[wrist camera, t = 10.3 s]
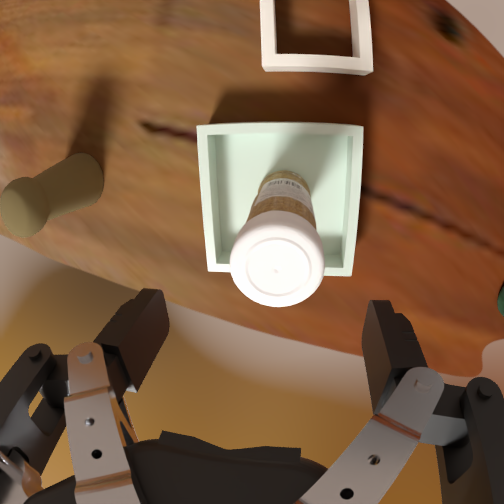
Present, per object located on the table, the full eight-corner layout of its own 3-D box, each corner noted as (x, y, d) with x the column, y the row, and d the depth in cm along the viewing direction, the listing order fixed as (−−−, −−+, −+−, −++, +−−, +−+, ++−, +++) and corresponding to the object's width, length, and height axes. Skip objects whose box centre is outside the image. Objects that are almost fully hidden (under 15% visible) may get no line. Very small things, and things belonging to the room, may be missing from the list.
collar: (359, -8, 18) (365, -20, 16) (364, 75, 22) (373, 71, 19) (262, -12, 19) (258, -25, 17) (265, 71, 23) (262, 66, 20)
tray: (354, 124, 24) (363, 126, 21) (345, 258, 29) (351, 276, 26) (208, 123, 25) (196, 125, 22) (217, 254, 31) (208, 271, 28)
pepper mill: (56, 162, 29) (-16, 191, 19) (94, 144, 27) (17, 168, 18) (72, 211, 31) (6, 253, 21) (111, 198, 30) (42, 241, 20)
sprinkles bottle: (250, 207, 27) (215, 290, 15) (270, 160, 25) (247, 206, 13) (298, 227, 27) (300, 322, 15) (320, 181, 25) (343, 247, 13)
